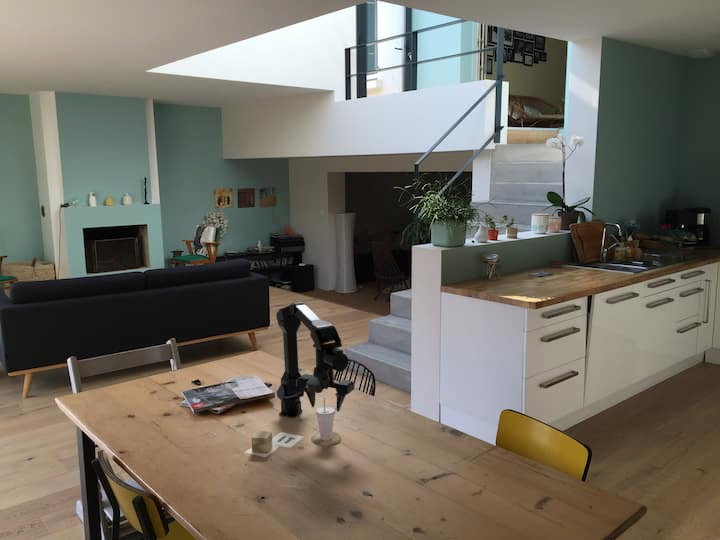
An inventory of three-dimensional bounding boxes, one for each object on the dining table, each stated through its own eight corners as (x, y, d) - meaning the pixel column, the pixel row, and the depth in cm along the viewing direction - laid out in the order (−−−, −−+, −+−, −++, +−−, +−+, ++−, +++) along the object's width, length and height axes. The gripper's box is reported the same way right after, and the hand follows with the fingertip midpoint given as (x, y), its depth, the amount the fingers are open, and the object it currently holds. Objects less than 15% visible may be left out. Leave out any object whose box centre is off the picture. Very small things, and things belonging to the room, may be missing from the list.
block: (252, 452, 188) (251, 437, 188) (257, 445, 193) (256, 430, 192) (267, 453, 188) (266, 438, 187) (272, 446, 192) (271, 431, 192)
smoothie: (312, 439, 196) (311, 399, 194) (322, 432, 202) (321, 392, 200) (329, 443, 193) (328, 402, 191) (339, 436, 199) (338, 395, 197)
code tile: (266, 443, 195) (266, 442, 195) (281, 432, 203) (281, 431, 203) (290, 448, 191) (290, 447, 191) (304, 437, 199) (304, 436, 199)
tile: (244, 453, 188) (244, 452, 188) (258, 442, 196) (258, 442, 196) (265, 457, 185) (265, 457, 185) (279, 447, 192) (279, 446, 192)
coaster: (305, 442, 195) (305, 441, 195) (320, 430, 204) (320, 429, 204) (332, 448, 191) (332, 447, 191) (346, 435, 200) (346, 434, 200)
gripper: (286, 366, 190) (288, 413, 193) (339, 374, 182) (340, 423, 185) (304, 356, 200) (305, 401, 203) (354, 363, 192) (355, 410, 195)
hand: (325, 409), depth 196 cm, fingers open, 9 cm apart
